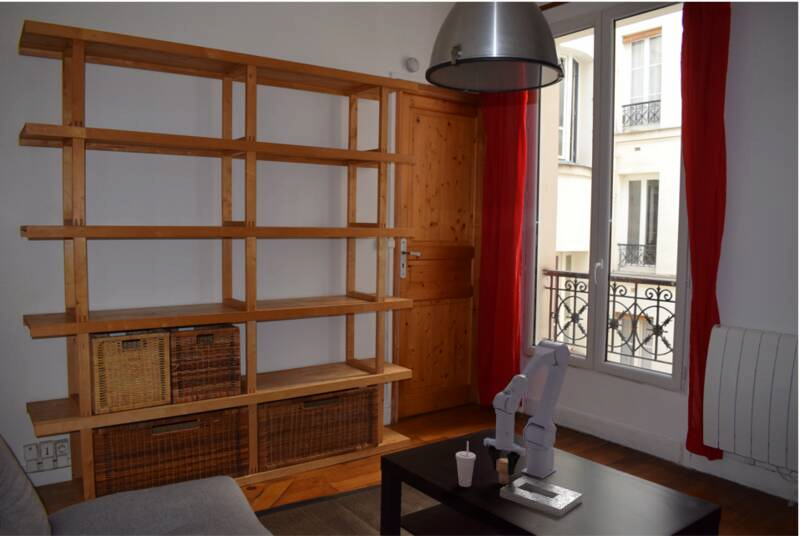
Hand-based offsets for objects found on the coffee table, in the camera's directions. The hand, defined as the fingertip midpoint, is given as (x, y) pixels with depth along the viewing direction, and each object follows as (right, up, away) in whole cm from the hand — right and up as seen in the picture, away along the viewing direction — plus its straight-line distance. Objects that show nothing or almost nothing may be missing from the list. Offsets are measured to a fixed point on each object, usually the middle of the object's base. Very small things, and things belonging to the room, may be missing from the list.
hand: (503, 471), depth 205 cm
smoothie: (-13, -4, -2) cm, 13 cm away
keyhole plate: (+9, -5, -12) cm, 16 cm away
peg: (0, -3, 0) cm, 3 cm away
